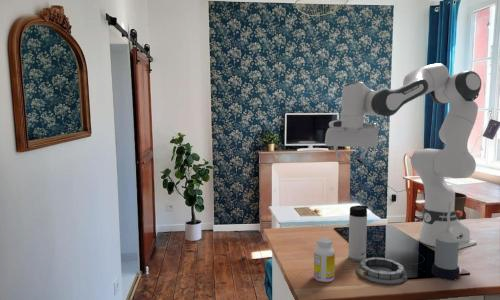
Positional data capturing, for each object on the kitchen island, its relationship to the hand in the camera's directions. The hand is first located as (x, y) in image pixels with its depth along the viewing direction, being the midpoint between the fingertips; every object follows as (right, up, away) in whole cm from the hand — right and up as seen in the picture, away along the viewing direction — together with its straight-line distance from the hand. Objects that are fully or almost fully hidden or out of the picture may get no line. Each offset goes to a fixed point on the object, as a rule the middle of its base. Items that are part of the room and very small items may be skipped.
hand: (350, 158), depth 147 cm
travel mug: (0, -38, -9) cm, 39 cm away
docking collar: (+4, -39, -23) cm, 45 cm away
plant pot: (+53, -34, +28) cm, 69 cm away
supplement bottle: (-16, -39, -26) cm, 49 cm away
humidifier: (+26, -39, -23) cm, 52 cm away
